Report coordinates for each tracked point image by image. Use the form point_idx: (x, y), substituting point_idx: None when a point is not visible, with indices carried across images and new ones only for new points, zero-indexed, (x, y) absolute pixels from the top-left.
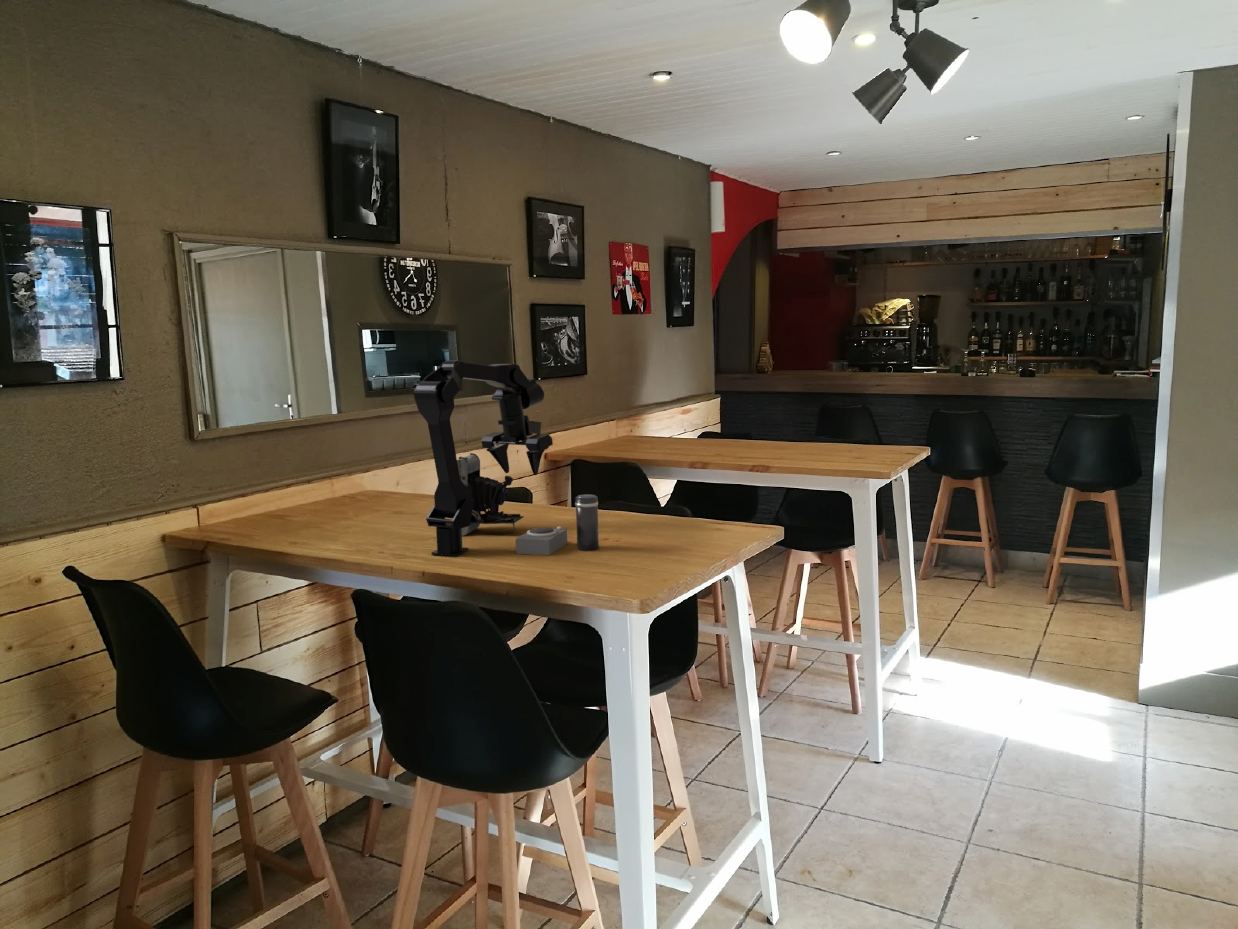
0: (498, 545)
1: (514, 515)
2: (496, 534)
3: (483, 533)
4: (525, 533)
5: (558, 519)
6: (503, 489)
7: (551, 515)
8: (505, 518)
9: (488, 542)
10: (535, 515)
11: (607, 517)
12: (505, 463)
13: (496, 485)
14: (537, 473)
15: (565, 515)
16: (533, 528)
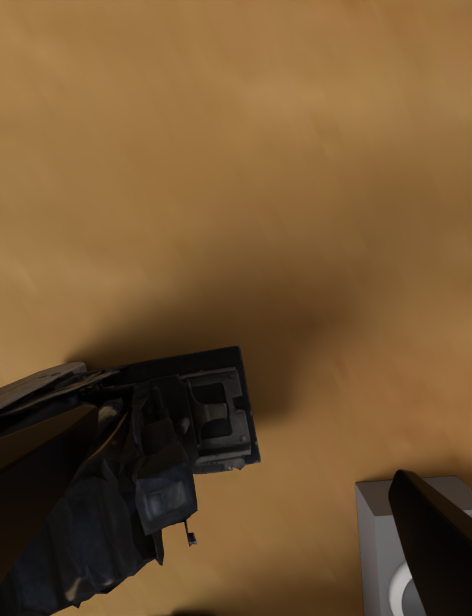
0: (266, 544)
1: (212, 373)
2: None
3: None
4: (381, 602)
5: (276, 147)
6: (193, 543)
7: (219, 84)
8: (220, 458)
9: (218, 518)
10: (161, 101)
11: (440, 60)
12: (31, 502)
13: (140, 562)
14: (415, 479)
15: (270, 69)
16: (408, 595)
